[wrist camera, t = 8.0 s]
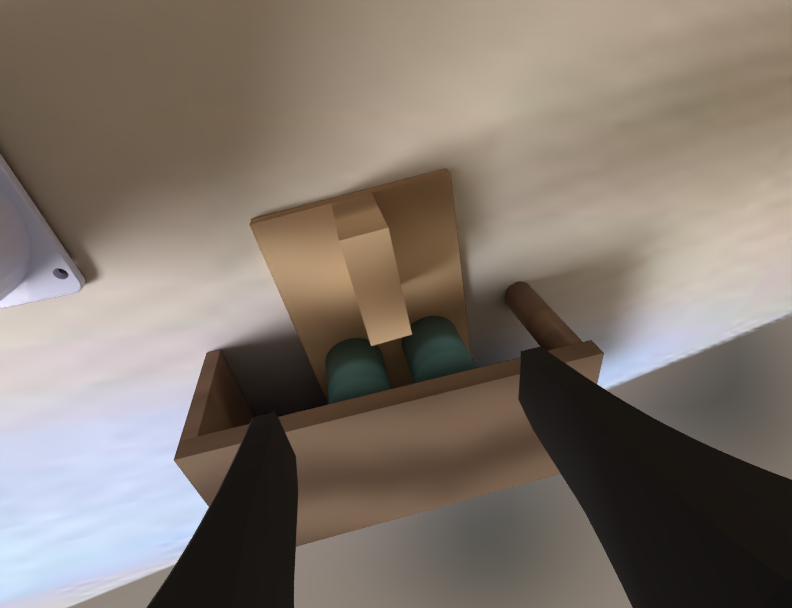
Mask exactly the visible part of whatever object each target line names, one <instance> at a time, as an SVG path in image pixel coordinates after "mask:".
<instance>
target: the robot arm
mask: <svg viewBox="0 0 792 608" xmlns="http://www.w3.org/2000/svg"><path fill="white" fill-rule="evenodd" d="M58 268H61V269H63V270H65V271H66V272H67V273H68V275H64V274H62V273H61V272H59V270H58ZM84 286H85V279H84V277H83V276H82V274H81V273H80V271H79V270H78V268H77V267H76V265H75V264H74V262H73V261H72V259H71V258H70V256H69V255H68V253H67V252H66V250H65V249H64V247H63V246H62V244H61V243H60V241H59V240H58V238H57V237H56V235H55V234H54V232H53V231H52V230H51V228H50V227H49V225H48V224H47V222H46V221H45V219H44V218H43V216H42V215H41V213H40V212H39V210H38V209H37V207H36V206H35V204H34V203H33V201H32V200H31V198H30V197H29V195H28V194H27V192H26V191H25V189H24V188H23V186H22V185H21V183H20V182H19V181H18V179H17V178H16V176H15V175H14V173H13V172H12V170H11V169H10V167H9V166H8V164H7V163H6V161H5V160H4V158H3V157H2V155H1V154H0V309H2V308H7V307H12V306H16V305H21V304H26V303H31V302H36V301H40V300H45V299H50V298H55V297H60V296H65V295H69V294H74V293H77V292H79V291H80V290H81V289H82V288H83V287H84ZM518 400H519V402H520V404H521V406H522V408H523V410H524V413H525V415H526V417H527V419H528V421H529V423H530V425H531V427H532V429H533V431H534V432H535V434H536V436H537V437H538V439H539V440H540V442H541V444H542V445H543V447H544V448H545V450H546V451H547V453H548V455H549V456H550V458H551V459H552V461H553V462H554V464H555V465H556V467H557V469H558V470H559V472H560V473H561V475H562V476H563V478H564V479H565V481H566V483H567V484H568V486H569V487H570V489H571V490H572V492H573V493H574V495H575V496H576V498H577V500H578V501H579V503H580V505H581V507H582V508H583V510H584V511H585V513H586V515H587V517H588V519H589V521H590V523H591V525H592V526H593V528H594V530H595V532H596V534H597V536H598V538H599V540H600V542H601V544H602V545H603V548H604V550H605V551H606V554H607V556H608V558H609V560H610V562H611V564H612V565H613V568H614V570H615V572H616V574H617V575H618V578H619V580H620V582H621V584H622V586H623V588H624V590H625V592H626V594H627V597H628V599H629V601H630V603H631V605H632V607H633V608H792V480H791V479H788V478H785V477H783V476H780V475H777V474H774V473H772V472H769V471H767V470H764V469H762V468H759V467H757V466H754V465H752V464H749V463H747V462H745V461H742V460H740V459H738V458H735V457H733V456H731V455H728V454H726V453H724V452H722V451H719V450H717V449H714V448H712V447H710V446H708V445H706V444H704V443H702V442H699V441H697V440H695V439H693V438H691V437H689V436H687V435H685V434H683V433H681V432H679V431H677V430H675V429H673V428H671V427H669V426H667V425H665V424H663V423H661V422H660V421H658V420H656V419H654V418H652V417H650V416H649V415H647V414H645V413H643V412H642V411H640V410H638V409H636V408H635V407H633V406H631V405H629V404H628V403H626V402H624V401H623V400H621V399H619V398H618V397H616V396H614V395H613V394H611V393H610V392H608V391H607V390H605V389H603V388H602V387H600V386H599V385H597V384H596V383H594V382H593V381H591V380H589V379H588V378H586V377H585V376H583V375H582V374H580V373H579V372H578V371H576V370H575V369H573V368H572V367H570V366H569V365H567V364H566V363H564V362H563V361H561V360H560V359H558V358H557V357H556V356H554V355H553V354H551V353H550V352H548V351H547V350H545V349H544V348H542V347H537V348H533V349H529V350H525V351H521V364H520V380H519V396H518ZM297 511H298V478H297V464H296V455H295V453H294V451H293V449H292V446H291V444H290V442H289V440H288V438H287V435H286V433H285V431H284V429H283V427H282V424H281V422H280V420H279V418H278V416H277V414H276V411H275V412H271V413H267V414H263V415H259V416H255V417H253V418H252V420H251V421H250V424H249V426H248V428H247V431H246V433H245V435H244V437H243V440H242V442H241V444H240V446H239V448H238V451H237V453H236V455H235V457H234V459H233V461H232V463H231V466H230V468H229V470H228V472H227V474H226V476H225V478H224V480H223V482H222V484H221V486H220V488H219V490H218V492H217V494H216V496H215V497H214V499H213V501H212V503H211V505H210V507H209V508H208V510H207V512H206V514H205V516H204V517H203V519H202V521H201V523H200V525H199V526H198V528H197V530H196V532H195V534H194V535H193V537H192V539H191V540H190V542H189V544H188V545H187V547H186V549H185V550H184V552H183V554H182V555H181V557H180V558H179V560H178V562H177V563H176V565H175V566H174V568H173V569H172V571H171V572H170V574H169V576H168V577H167V579H166V580H165V582H164V583H163V585H162V586H161V587H160V589H159V591H158V592H157V593H156V595H155V596H154V598H153V599H152V601H151V602H150V603H149V605H148V606H147V608H294V570H295V551H296V550H295V549H296V531H297Z"/></svg>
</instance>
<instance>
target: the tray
mask: <svg viewBox="0 0 792 608" xmlns="http://www.w3.org/2000/svg"><path fill="white" fill-rule="evenodd" d="M250 227H251V229H252V231H253V234H254V236H255V238H256V240H257V243H258V245H259V247H260V250H261V252H262V254H263V256H264V259H265V261H266V263H267V266H268V268H269V270H270V272H271V275H272V277H273V279H274V281H275V284H276V286H277V288H278V291H279V293H280V295H281V297H282V300H283V302H284V304H285V307H286V309H287V311H288V313H289V316H290V318H291V320H292V323H293V325H294V327H295V329H296V332H297V334H298V336H299V338H300V341H301V343H302V345H303V348H304V350H305V352H306V354H307V357H308V359H309V361H310V364H311V366H312V368H313V370H314V373H315V375H316V377H317V379H318V382H319V384H320V386H321V389H322V391H323V393H324V395H325V398H326V400H327V402H328V405H329V404H333V403H337V402H341V401H345V400H349V399H353V398H357V397H361V396H365V395H370V394H374V393H378V392H382V391H386V390H390V389H393V388H397V387H400V386H403V385H407V384H410V383H419V382H423V381H427V380H431V379H435V378H439V377H443V376H447V375H451V374H455V373H459V372H463V371H468V370H472V369H476V368H477V366H476V364H475V362H474V361H473V359H472V357H471V352H470V343H469V334H468V325H467V316H466V308H465V299H464V290H463V281H462V272H461V263H460V254H459V245H458V237H457V228H456V219H455V210H454V201H453V192H452V183H451V175H450V171H448V170H447V169H442V170H438V171H434V172H430V173H427V174H423V175H419V176H415V177H411V178H407V179H404V180H400V181H396V182H392V183H388V184H384V185H381V186H377V187H373V188H369V189H365V190H361V191H358V192H354V193H350V194H346V195H342V196H338V197H335V198H331V199H327V200H323V201H319V202H315V203H312V204H308V205H304V206H300V207H296V208H292V209H289V210H285V211H281V212H277V213H273V214H269V215H266V216H262V217H258V218H254V219H251V221H250Z"/></svg>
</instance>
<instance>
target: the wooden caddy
mask: <svg viewBox="0 0 792 608" xmlns="http://www.w3.org/2000/svg"><path fill="white" fill-rule="evenodd" d="M504 300H505V302H506V304H507V305H508V306H509V307H510V309H511V310H512V311H513V312H514V314H515V315H516V316H517V317H518V319H519V320H520V321H521V323H522V324H523V325H524V326H525V328H526V329H527V330H528V331H529V333H530V334H531V335H532V336H533V338H534V339H535V340H536V341H537V343H538V344H539V345H540V346H541V347H542V348H544V349H545V350H547V351H548V352H550V353H551V354H553V355H554V356H556V357H557V358H558V359H560V360H561V361H563V362H564V363H566V364H567V365H569V366H570V367H572V368H573V369H575V370H576V371H578V372H579V373H580V374H582V375H583V376H585V377H586V378H588V379H589V380H591V381H593V382H594V383H596V384H597V382H598V378H599V373H600V369H601V364H602V359H603V355H604V353H603V352H602V351H601V350H600V349H599V348H598V347H597V346H596V345H595V344H594V343H593V342H592V340H590V341H586V342H582V341H581V340H580V339H579V338H578V337H577V336H576V334H575V333H574V332H573V331H572V330H571V329H570V328H569V327H568V326H567V325H566V324H565V323H564V322H563V321H562V320H561V319H560V318H559V317H558V316H557V314H556V313H555V312H554V311H553V310H552V309H551V308H550V307H549V306H548V305H547V304H546V303H545V302H544V301H543V300H542V299H541V298H540V297H539V296H538V294H537V293H536V292H535V291H534V290H533V289H532V288H531V287H530V286H529V285H528V284H527V283H524V282H518V283H515V284H513V285H511V286H510V287H509V288H508V289H507V290H506V292H505V295H504ZM520 364H521V358H517V359H512V360H508V361H504V362H500V363H496V364H492V365H488V366H484V367H480V368H476V369H472V370H468V371H463V372H459V373H455V374H451V375H447V376H443V377H439V378H435V379H431V380H427V381H423V382H419V383H414V384H410V385H406V386H402V387H398V388H394V389H390V390H386V391H382V392H378V393H374V394H370V395H365V396H361V397H357V398H353V399H349V400H345V401H341V402H337V403H333V404H329V405H325V406H321V407H316V408H312V409H308V410H304V411H300V412H296V413H292V414H288V415H284V416H280V417H278V418H279V420H280V422H281V424H282V427H283V429H284V431H285V433H286V435H287V438H288V440H289V442H290V444H291V446H292V449H293V451H294V453H295V455H296V464H297V478H298V511H297V531H296V546H299V545H303V544H307V543H311V542H314V541H318V540H321V539H325V538H329V537H332V536H336V535H340V534H343V533H347V532H350V531H354V530H358V529H361V528H365V527H369V526H372V525H376V524H379V523H383V522H387V521H390V520H394V519H398V518H401V517H405V516H409V515H412V514H416V513H420V512H423V511H427V510H431V509H434V508H438V507H441V506H445V505H449V504H452V503H456V502H459V501H463V500H467V499H470V498H474V497H477V496H481V495H485V494H489V493H492V492H496V491H499V490H503V489H506V488H510V487H514V486H517V485H521V484H525V483H529V482H532V481H536V480H539V479H543V478H547V477H550V476H553V475H557V474H561V473H560V472H559V470H558V469H557V467H556V465H555V464H554V462H553V461H552V459H551V458H550V456H549V455H548V453H547V451H546V450H545V448H544V447H543V445H542V444H541V442H540V440H539V439H538V437H537V436H536V434H535V432H534V431H533V429H532V427H531V425H530V423H529V421H528V419H527V417H526V415H525V413H524V410H523V408H522V406H521V404H520V402H519V400H518V396H519V380H520ZM253 417H254V416H253V414H252V412H251V410H250V408H249V406H248V404H247V402H246V400H245V398H244V396H243V394H242V392H241V390H240V388H239V386H238V384H237V382H236V380H235V378H234V376H233V374H232V372H231V370H230V368H229V366H228V364H227V362H226V360H225V358H224V357H223V355H222V353H221V351H220V350H218V351H213V352H209V353H206V357H205V360H204V363H203V366H202V370H201V373H200V376H199V379H198V383H197V386H196V389H195V392H194V396H193V399H192V402H191V405H190V409H189V412H188V415H187V419H186V422H185V425H184V428H183V432H182V435H181V438H180V441H179V445H178V448H177V451H176V454H175V458H174V461H175V462H176V464H177V465H178V466H179V468H180V469H181V470H182V472H183V473H184V474H185V476H186V477H187V478H188V480H189V481H190V482H191V484H192V485H193V486H194V488H195V489H196V490H197V492H198V493H199V494H200V496H201V497H202V498H203V500H204V501H205V502H206V504H207V505H208V506H209V507H210V505H211V503H212V501H213V499H214V497H215V496H216V494H217V492H218V490H219V488H220V486H221V484H222V482H223V480H224V478H225V476H226V474H227V472H228V470H229V468H230V466H231V463H232V461H233V459H234V457H235V455H236V453H237V451H238V448H239V446H240V444H241V442H242V440H243V437H244V435H245V433H246V431H247V428H248V426H249V424H250V421H251V420H252V418H253Z"/></svg>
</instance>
